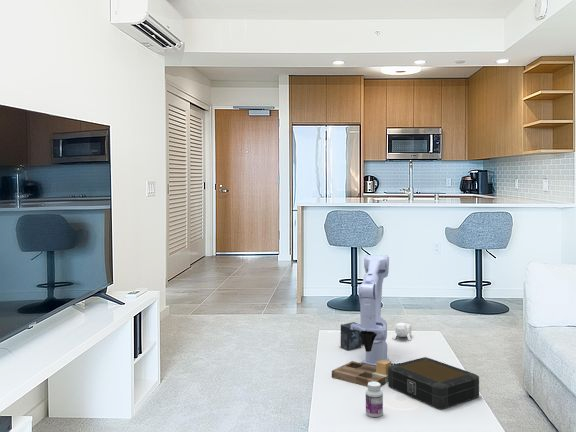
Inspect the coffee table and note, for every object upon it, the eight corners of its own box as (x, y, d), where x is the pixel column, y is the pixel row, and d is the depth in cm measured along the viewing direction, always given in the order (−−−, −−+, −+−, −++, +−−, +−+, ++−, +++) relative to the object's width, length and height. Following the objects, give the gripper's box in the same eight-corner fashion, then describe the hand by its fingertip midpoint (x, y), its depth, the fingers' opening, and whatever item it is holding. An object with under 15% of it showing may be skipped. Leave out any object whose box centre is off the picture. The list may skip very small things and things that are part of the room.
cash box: (384, 387, 185) (384, 366, 184) (425, 376, 195) (425, 355, 195) (439, 411, 163) (439, 387, 163) (481, 397, 174) (481, 375, 174)
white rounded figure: (394, 341, 251) (390, 337, 238) (395, 323, 254) (391, 319, 240) (412, 342, 248) (409, 339, 235) (413, 324, 251) (410, 320, 238)
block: (381, 369, 195) (381, 359, 194) (391, 372, 192) (391, 361, 192) (376, 372, 191) (376, 362, 191) (385, 375, 189) (385, 364, 189)
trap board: (352, 367, 205) (352, 361, 205) (395, 377, 193) (395, 371, 193) (331, 377, 195) (331, 370, 195) (376, 388, 183) (376, 381, 182)
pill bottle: (363, 410, 164) (363, 380, 164) (380, 410, 165) (380, 380, 164) (367, 418, 159) (367, 387, 159) (384, 417, 159) (384, 386, 159)
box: (348, 351, 227) (348, 327, 226) (340, 347, 231) (340, 324, 231) (362, 347, 231) (361, 324, 230) (353, 344, 236) (353, 321, 235)
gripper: (346, 314, 197) (346, 350, 197) (379, 320, 187) (380, 357, 188) (356, 311, 202) (356, 345, 203) (389, 316, 193) (389, 352, 193)
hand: (368, 350), depth 196 cm, fingers closed
